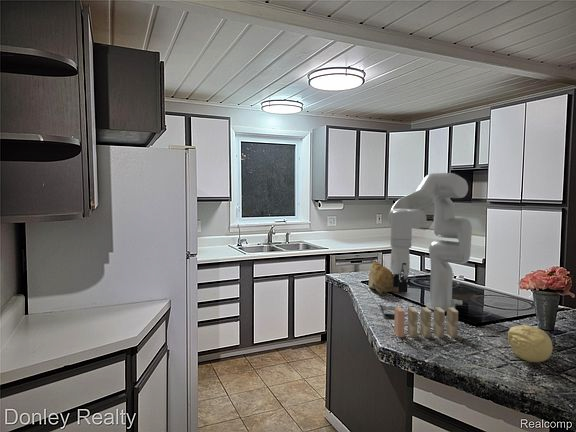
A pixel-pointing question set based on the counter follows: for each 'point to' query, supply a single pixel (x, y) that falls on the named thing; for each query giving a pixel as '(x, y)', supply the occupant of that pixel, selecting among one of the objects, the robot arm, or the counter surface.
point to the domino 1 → (399, 322)
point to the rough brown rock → (381, 279)
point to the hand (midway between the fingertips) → (400, 289)
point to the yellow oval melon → (530, 343)
